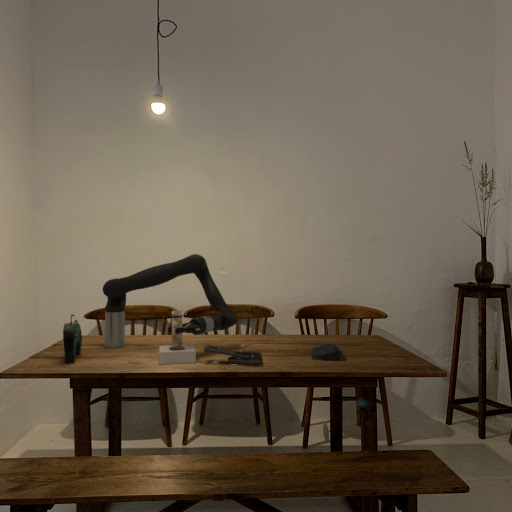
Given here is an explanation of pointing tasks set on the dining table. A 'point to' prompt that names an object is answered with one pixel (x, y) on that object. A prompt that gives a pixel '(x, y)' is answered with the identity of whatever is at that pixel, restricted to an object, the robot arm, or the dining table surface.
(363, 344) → the dining table surface
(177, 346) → the beech dowel
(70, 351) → the ceramic cat
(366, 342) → the dining table surface
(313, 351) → the dark slate chunk
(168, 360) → the well block
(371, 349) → the dining table surface
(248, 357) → the zipper pull
